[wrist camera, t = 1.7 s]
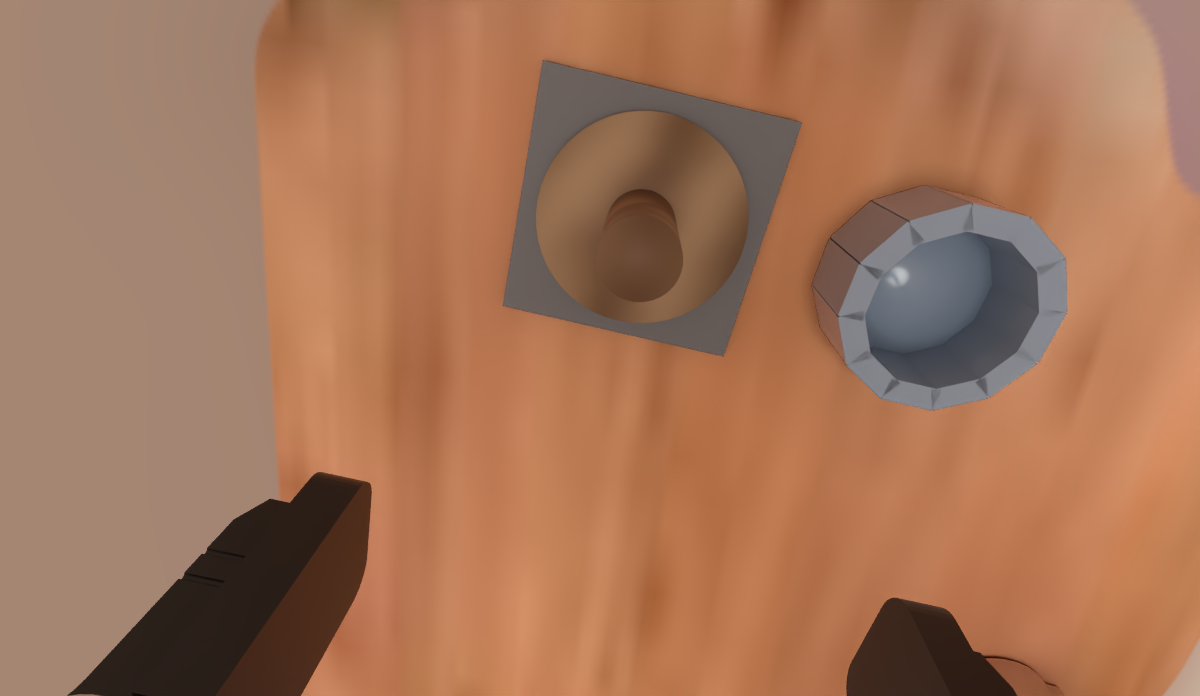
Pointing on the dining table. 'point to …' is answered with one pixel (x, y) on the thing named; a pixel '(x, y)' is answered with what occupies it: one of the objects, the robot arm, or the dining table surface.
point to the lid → (642, 216)
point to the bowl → (939, 296)
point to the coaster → (591, 97)
